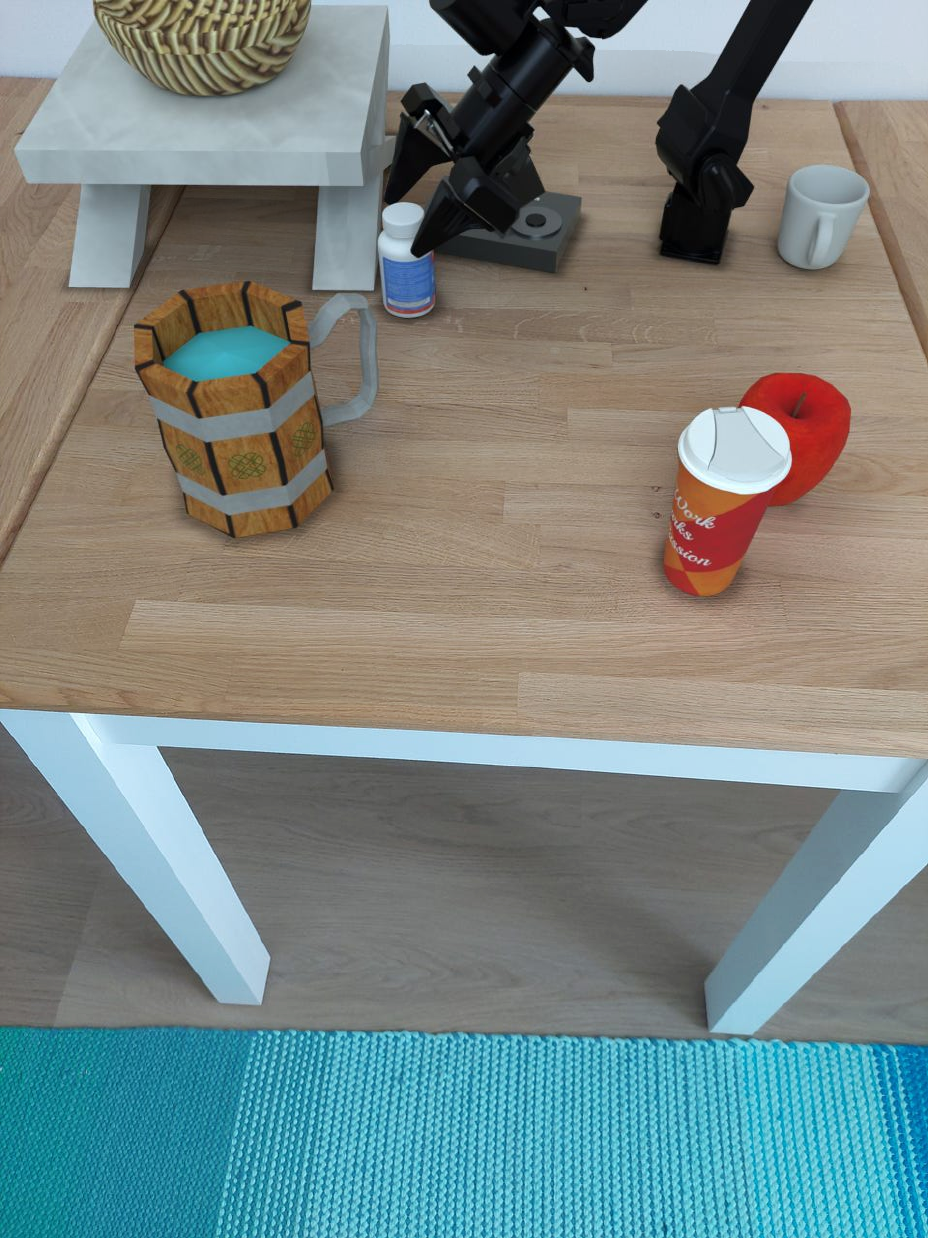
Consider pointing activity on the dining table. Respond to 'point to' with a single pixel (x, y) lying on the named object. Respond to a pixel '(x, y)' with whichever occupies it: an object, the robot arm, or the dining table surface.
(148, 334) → the mug
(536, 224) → the burners
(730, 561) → the paper cup
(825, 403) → the apple
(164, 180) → the grey stone stand
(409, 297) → the pill bottle
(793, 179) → the cup
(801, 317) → the dining table surface
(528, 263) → the hob
